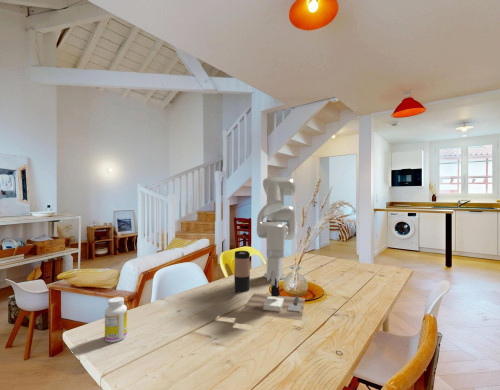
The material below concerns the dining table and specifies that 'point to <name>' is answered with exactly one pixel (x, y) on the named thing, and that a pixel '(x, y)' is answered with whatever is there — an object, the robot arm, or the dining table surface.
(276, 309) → the tile
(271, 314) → the board
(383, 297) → the dining table surface
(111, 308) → the supplement bottle
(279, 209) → the robot arm
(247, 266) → the travel mug
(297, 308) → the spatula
